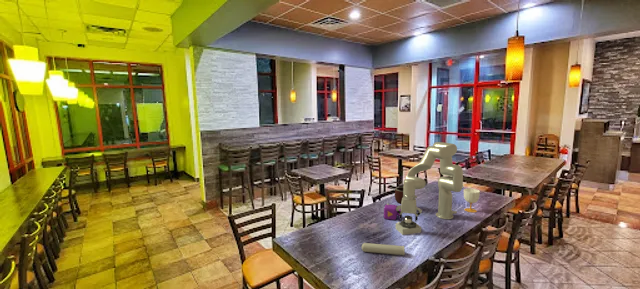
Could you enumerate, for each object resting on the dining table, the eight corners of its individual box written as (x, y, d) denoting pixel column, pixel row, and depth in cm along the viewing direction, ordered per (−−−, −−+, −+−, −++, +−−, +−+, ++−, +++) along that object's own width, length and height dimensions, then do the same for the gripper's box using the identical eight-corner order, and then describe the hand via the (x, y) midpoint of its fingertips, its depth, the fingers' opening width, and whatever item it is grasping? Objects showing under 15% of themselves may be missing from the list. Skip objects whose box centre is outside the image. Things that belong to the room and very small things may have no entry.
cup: (463, 212, 222) (464, 191, 220) (461, 207, 233) (462, 187, 231) (479, 214, 218) (481, 193, 215) (477, 208, 229) (478, 189, 226)
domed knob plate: (413, 226, 198) (413, 219, 197) (421, 232, 188) (421, 225, 188) (395, 228, 195) (395, 221, 195) (402, 235, 185) (402, 227, 185)
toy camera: (402, 221, 208) (402, 208, 206) (383, 220, 210) (384, 207, 209) (401, 215, 218) (401, 203, 217) (383, 214, 221) (383, 202, 219)
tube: (360, 247, 163) (404, 251, 158) (361, 240, 168) (404, 244, 162) (361, 253, 166) (404, 257, 160) (361, 246, 170) (403, 250, 165)
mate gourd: (394, 210, 228) (394, 187, 225) (394, 205, 241) (395, 182, 238) (413, 212, 224) (414, 188, 221) (413, 206, 237) (413, 184, 234)
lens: (404, 223, 194) (404, 215, 194) (411, 224, 193) (412, 215, 192) (404, 226, 190) (404, 217, 189) (411, 227, 188) (412, 218, 187)
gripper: (422, 196, 189) (421, 219, 192) (396, 194, 195) (395, 217, 197) (422, 199, 182) (421, 224, 185) (395, 197, 188) (395, 221, 190)
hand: (408, 220), depth 191 cm, fingers open, 9 cm apart
